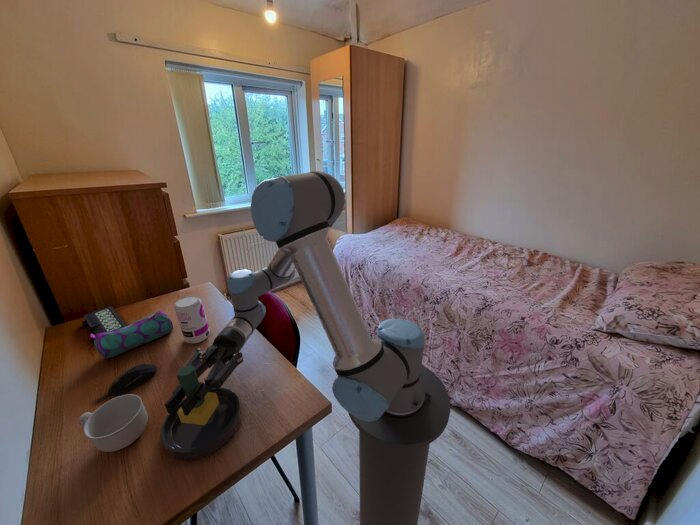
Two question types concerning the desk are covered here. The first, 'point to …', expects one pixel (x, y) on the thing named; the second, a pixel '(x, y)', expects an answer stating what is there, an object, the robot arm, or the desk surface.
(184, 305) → the supplement can
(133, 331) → the pencil case
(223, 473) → the desk surface
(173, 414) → the bowl
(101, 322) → the digital display
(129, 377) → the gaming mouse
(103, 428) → the teacup
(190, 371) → the green peg on stand
